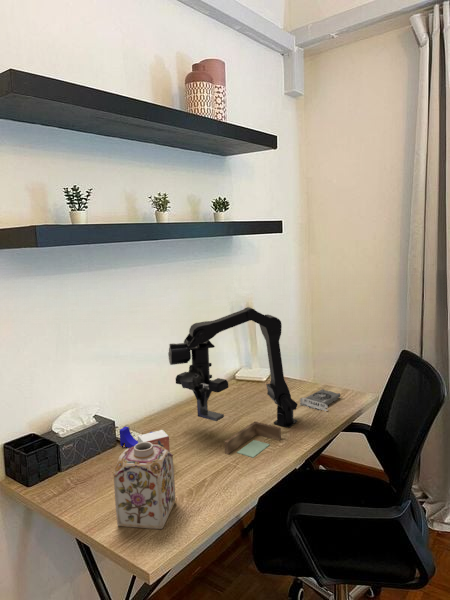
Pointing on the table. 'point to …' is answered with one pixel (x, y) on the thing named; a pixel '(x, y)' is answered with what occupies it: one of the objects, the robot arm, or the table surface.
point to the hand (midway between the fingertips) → (202, 406)
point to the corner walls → (251, 435)
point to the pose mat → (253, 448)
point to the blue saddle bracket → (127, 438)
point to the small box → (156, 439)
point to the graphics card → (319, 399)
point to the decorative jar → (144, 486)
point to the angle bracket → (207, 412)
